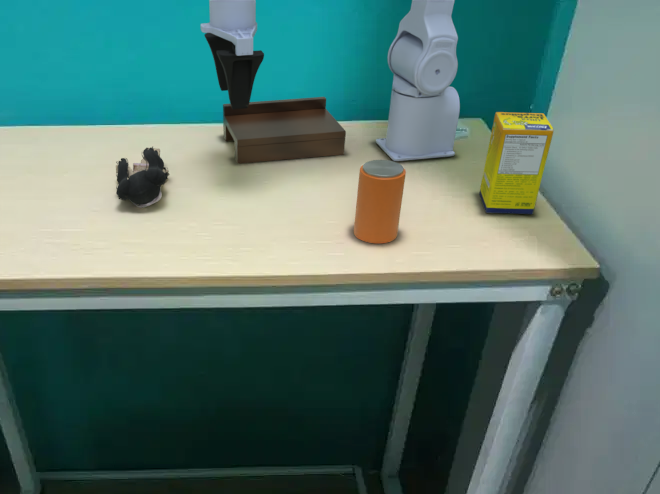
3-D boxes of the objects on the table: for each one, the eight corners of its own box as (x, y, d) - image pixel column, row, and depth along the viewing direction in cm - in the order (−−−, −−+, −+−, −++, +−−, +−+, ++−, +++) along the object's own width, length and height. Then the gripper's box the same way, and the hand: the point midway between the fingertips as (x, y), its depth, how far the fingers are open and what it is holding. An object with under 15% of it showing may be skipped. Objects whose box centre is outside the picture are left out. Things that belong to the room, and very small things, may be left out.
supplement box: (523, 195, 97) (544, 111, 90) (533, 215, 92) (555, 129, 85) (477, 193, 97) (494, 110, 90) (484, 213, 92) (503, 127, 86)
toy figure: (115, 169, 104) (115, 211, 92) (116, 125, 101) (115, 162, 89) (166, 173, 106) (172, 214, 93) (168, 129, 102) (174, 166, 90)
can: (388, 221, 91) (396, 156, 86) (403, 241, 87) (413, 174, 82) (347, 225, 90) (353, 160, 85) (361, 245, 86) (369, 178, 81)
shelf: (322, 128, 116) (324, 96, 113) (344, 154, 108) (346, 120, 105) (223, 136, 114) (222, 103, 111) (237, 163, 105) (237, 129, 102)
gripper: (190, -26, 94) (195, 84, 102) (210, -2, 83) (213, 119, 91) (244, -28, 95) (244, 80, 103) (270, -5, 84) (269, 114, 92)
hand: (233, 98), depth 97 cm, fingers open, 7 cm apart
